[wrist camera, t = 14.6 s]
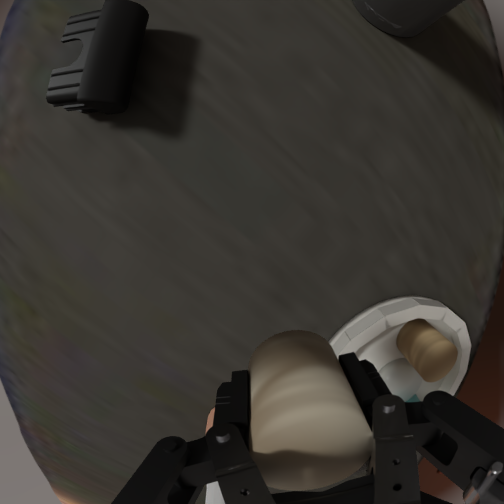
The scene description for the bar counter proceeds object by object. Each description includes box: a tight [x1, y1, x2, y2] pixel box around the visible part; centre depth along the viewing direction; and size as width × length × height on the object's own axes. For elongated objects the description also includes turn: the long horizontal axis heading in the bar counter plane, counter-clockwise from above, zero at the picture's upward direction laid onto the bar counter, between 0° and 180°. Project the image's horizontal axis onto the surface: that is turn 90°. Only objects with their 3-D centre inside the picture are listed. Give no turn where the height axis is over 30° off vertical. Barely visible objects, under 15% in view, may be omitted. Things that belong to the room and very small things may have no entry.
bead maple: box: [248, 330, 372, 491], centre depth 11 cm, size 4×4×6 cm
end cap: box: [46, 0, 149, 114], centre depth 20 cm, size 10×7×7 cm
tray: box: [329, 295, 471, 402], centre depth 30 cm, size 20×20×3 cm
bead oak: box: [396, 318, 458, 382], centre depth 26 cm, size 4×4×6 cm
